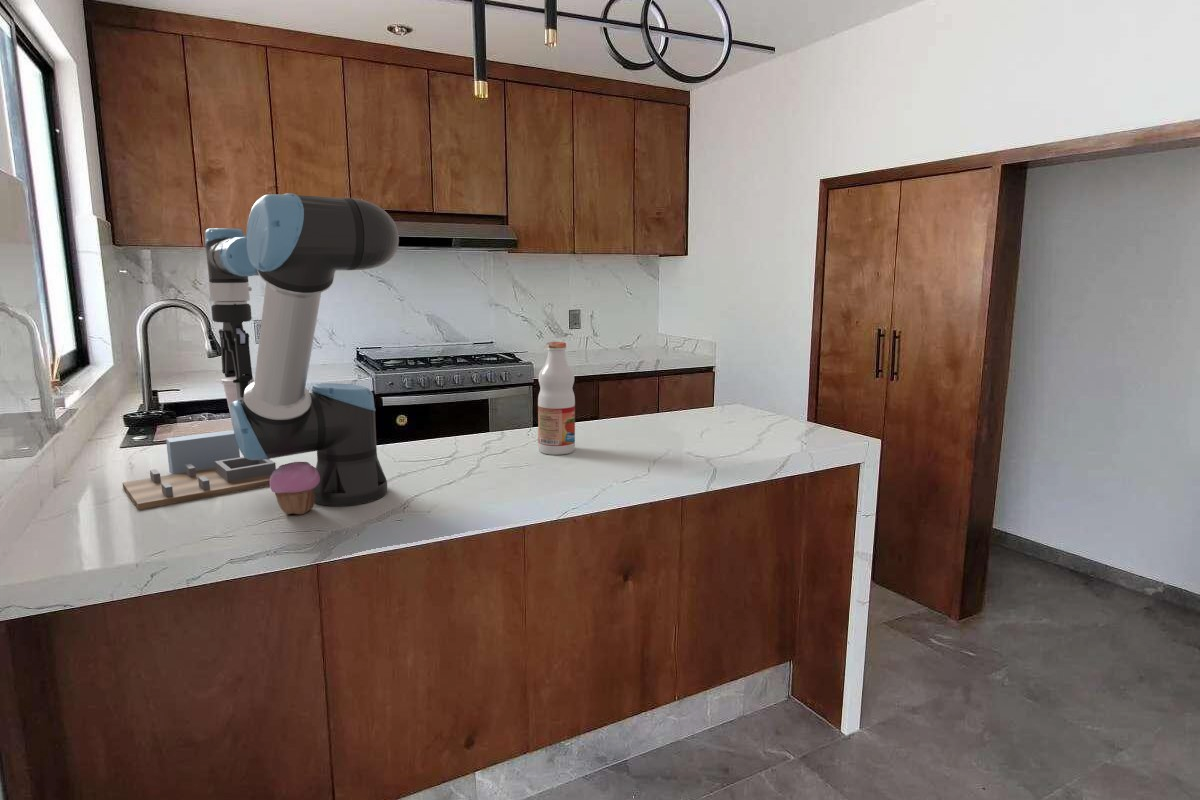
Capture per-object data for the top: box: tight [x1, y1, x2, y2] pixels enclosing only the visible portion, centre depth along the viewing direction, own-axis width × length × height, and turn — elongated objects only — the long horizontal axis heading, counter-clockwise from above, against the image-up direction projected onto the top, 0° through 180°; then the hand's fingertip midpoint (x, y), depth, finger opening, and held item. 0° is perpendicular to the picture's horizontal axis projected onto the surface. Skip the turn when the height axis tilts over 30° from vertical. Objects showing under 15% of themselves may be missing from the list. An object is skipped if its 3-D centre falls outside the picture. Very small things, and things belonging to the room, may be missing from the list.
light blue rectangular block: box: [165, 429, 241, 475], centre depth 167 cm, size 14×4×8 cm, turn 130°
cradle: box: [215, 456, 277, 482], centre depth 160 cm, size 10×10×2 cm
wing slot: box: [149, 464, 210, 497], centre depth 152 cm, size 16×8×2 cm, turn 41°
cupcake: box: [269, 461, 320, 515], centre depth 138 cm, size 9×9×10 cm
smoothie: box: [221, 375, 255, 417], centre depth 157 cm, size 6×6×14 cm
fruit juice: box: [537, 341, 576, 456], centre depth 184 cm, size 9×9×28 cm
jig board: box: [121, 468, 271, 511], centre depth 156 cm, size 18×28×1 cm, turn 131°
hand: (240, 408), depth 158 cm, fingers closed on smoothie, 6 cm apart
